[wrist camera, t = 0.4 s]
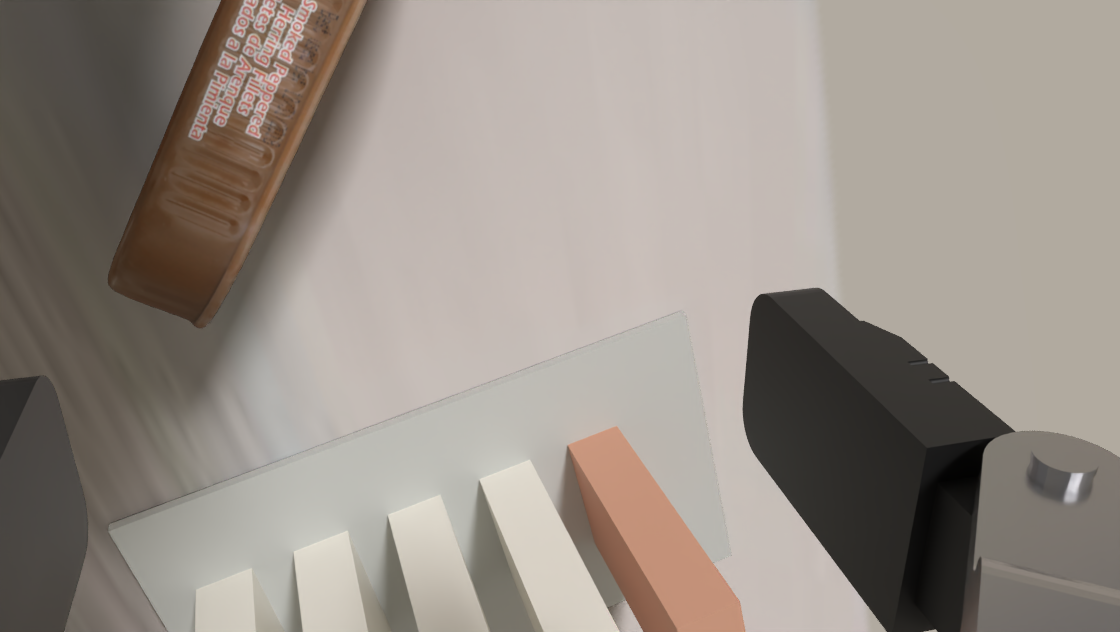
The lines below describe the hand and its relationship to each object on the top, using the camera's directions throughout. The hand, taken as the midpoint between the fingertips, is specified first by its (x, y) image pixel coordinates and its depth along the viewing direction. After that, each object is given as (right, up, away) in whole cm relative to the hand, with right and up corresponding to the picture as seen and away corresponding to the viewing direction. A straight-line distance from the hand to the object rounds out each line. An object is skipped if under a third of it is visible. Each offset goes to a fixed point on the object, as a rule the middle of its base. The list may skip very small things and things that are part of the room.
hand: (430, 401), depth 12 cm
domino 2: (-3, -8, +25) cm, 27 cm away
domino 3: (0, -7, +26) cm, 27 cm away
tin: (-7, +10, +17) cm, 20 cm away
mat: (-2, -7, +26) cm, 27 cm away
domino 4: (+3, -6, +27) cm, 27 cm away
